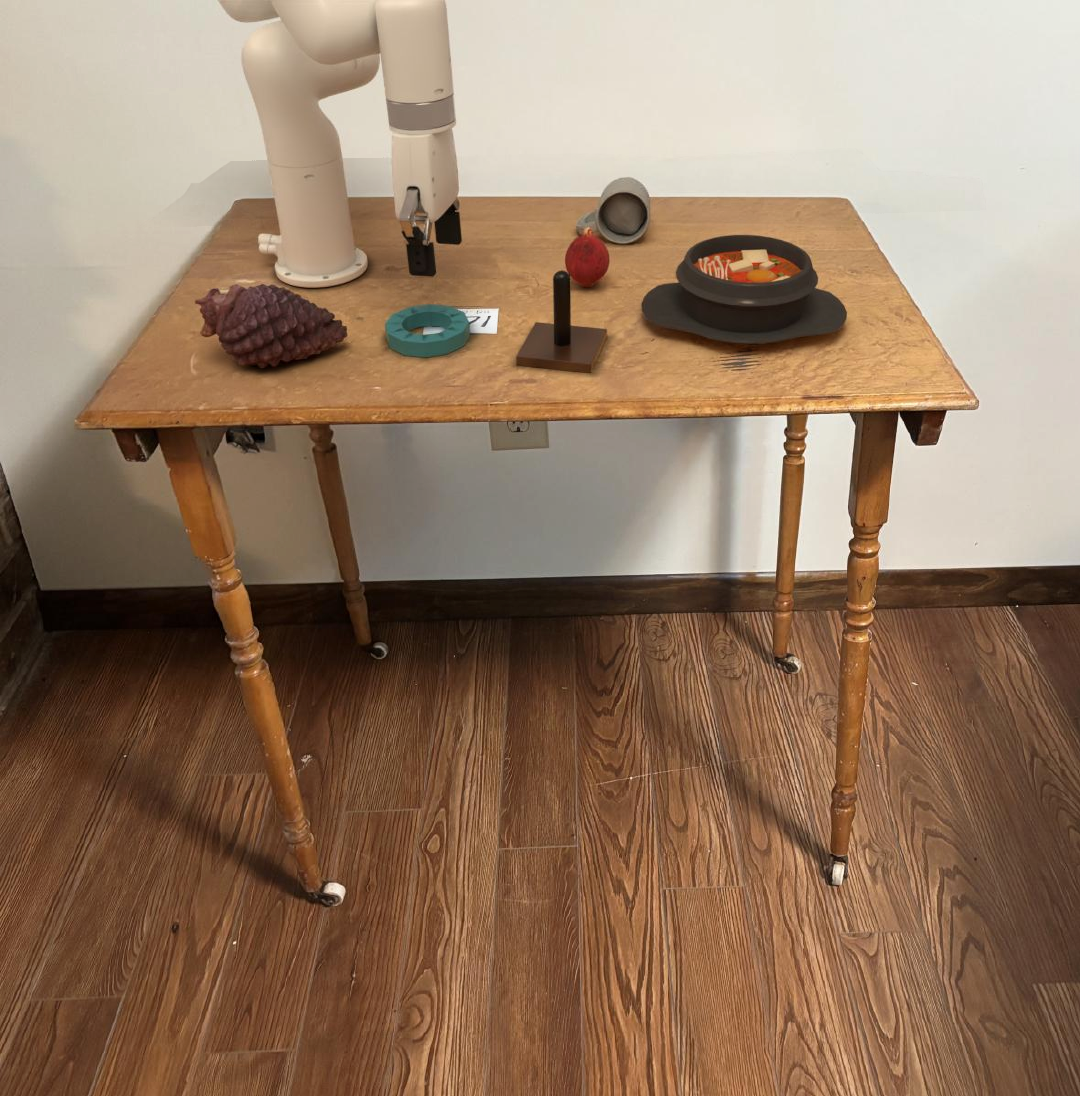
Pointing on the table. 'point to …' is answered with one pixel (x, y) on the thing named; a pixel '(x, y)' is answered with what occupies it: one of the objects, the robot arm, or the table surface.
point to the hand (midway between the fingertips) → (436, 258)
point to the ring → (429, 343)
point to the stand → (562, 337)
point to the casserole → (745, 293)
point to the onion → (587, 259)
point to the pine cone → (268, 324)
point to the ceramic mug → (620, 212)
